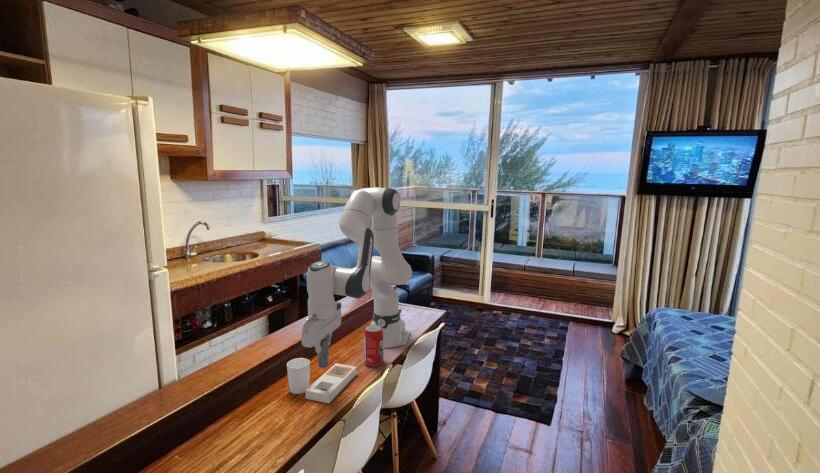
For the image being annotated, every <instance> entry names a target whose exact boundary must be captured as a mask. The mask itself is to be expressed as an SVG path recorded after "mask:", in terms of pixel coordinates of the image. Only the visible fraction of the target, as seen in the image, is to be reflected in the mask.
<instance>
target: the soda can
mask: <svg viewBox="0 0 820 473" xmlns="http://www.w3.org/2000/svg"><path fill="white" fill-rule="evenodd" d="M384 349H385V348H384V347H383V330H382V328H381V327H380V326H378V325H371V324H370V325H368V326H366V327H365V329H364V331H363V362H364V364H365V365H366V366H370V367H378V366H380V365H382V364H383V363H384V358H385V357H384V355H385V354H384Z"/></svg>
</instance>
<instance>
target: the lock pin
mask: <svg viewBox="0 0 820 473" xmlns="http://www.w3.org/2000/svg"><path fill="white" fill-rule="evenodd" d="M328 338H329V334H328V335H327V336H326V337H325V338H324V339H322V340H321V343H320V346H322V351H321V352H320V353H317V361H318V362H317V365H318V368H321V369H324V368H328V367H329V366H330V355H329V354H330V352H329V346H328Z"/></svg>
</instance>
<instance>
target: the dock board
mask: <svg viewBox="0 0 820 473" xmlns="http://www.w3.org/2000/svg"><path fill="white" fill-rule="evenodd" d="M357 370H358V368H357V366H354V365H347V364H343V363H342V364H341V363H337V362H335V363H334V365H332V366H331V367H330V368H329V369H328V370H327V371H325V372H324V373H323V374H322V375H320V376H319V378H317V379H316V380H315V381H313V383H312V384H311V385H309V388H308V389H306V390H305V399H306V400H311V401H316V402H321V403H325V404H330V403H331V402H332V401H333V400H334V399H335V398H336V397H337V396H338V394H339V393H341V392H342V390H343V389H345V387H346V386H347V385H348V384H349V383H350V382H351V381H352V380H353V379H354V378H355V377H356V376H357V373H358V371H357Z"/></svg>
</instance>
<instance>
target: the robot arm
mask: <svg viewBox="0 0 820 473" xmlns="http://www.w3.org/2000/svg"><path fill="white" fill-rule="evenodd" d="M400 204H401V196H400V193H399V192H398V190H396V189H394V188H391V187H387V188H386V187H377V186H375V187H364V188H361V187H358V188H354V189H352V190H351V191H350V192H349V194H348V197H347V201H346V202H345V205H344V207H343V210H342V213H341V215H340V219H339V223H338V224H339V229H340V231H341V233H342V234H343V235H344V236H345V237H346V238H348V239H349V240H350V241H352V242H355V244H358V254H357V260H356V265H355V267H353V268H351V267H343V266H342V267H341V266H336V265H332V264H331V262H330V261H326V260H321V261H320V260H319V261H316V262H313V263H311V264H310V265H309V266H308V269H307V275H306V291H307V293H308V294H307V295H308V299H307V315H308V318H306V319H305V322H304V324H302V327H301V345H302V346H303V347H304V348H313V347H314V348H315V352H316V353H317V354H318V353H320V352H321V351H322V346H320V343H321V340H322V339H324V338H325V337H326V336H327V335H328V334H329V338H328V347H329V346H330V345H331V339H332V337H333V336H332V335H333V332H334V331H336V330H337V329H338V328H339V327H341V324H342V310H341V309H342V308H343V307H342V306H343V305H342V302H340V301H335V297H334V295H336V296H337V295H339V296H343V297H344V296H345V297H350V298H352V299H360V298H362V297H364V296H365V295H366V294H367V293H369V291H370V288H371V291H372V297H373V312H372V321H371V322H370V326H371V325H378V326H380V327H381V328H382V330H383V347H384V349H390V348H396V347H399V346H406V345H407V344H408V340H409V337H410V333H411V330H410V329H407V328H406V322H405V321H404V320H403V319H402V318H401V314H402V308H399V307H400V306H399V302H400V299H399V294H398V292H397V291H396V290H395V289H394V287H393V285H394V286H400V285H401V286H402V285H407V284H408V283H409V282H410V281H411V278H412V275H413V270H412V266H411V265H410V264H409V263H408V262H407V260H406V259H405V258H404V256H403V253H402V252H401V249H400V244H399V236H398V221H397V215H396V213H397V212H398V210H399V209H400V207H401V205H400ZM370 224H371V227H370ZM374 249H375V250H376V251H377V252H378V254H379V255H373V252H374Z"/></svg>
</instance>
